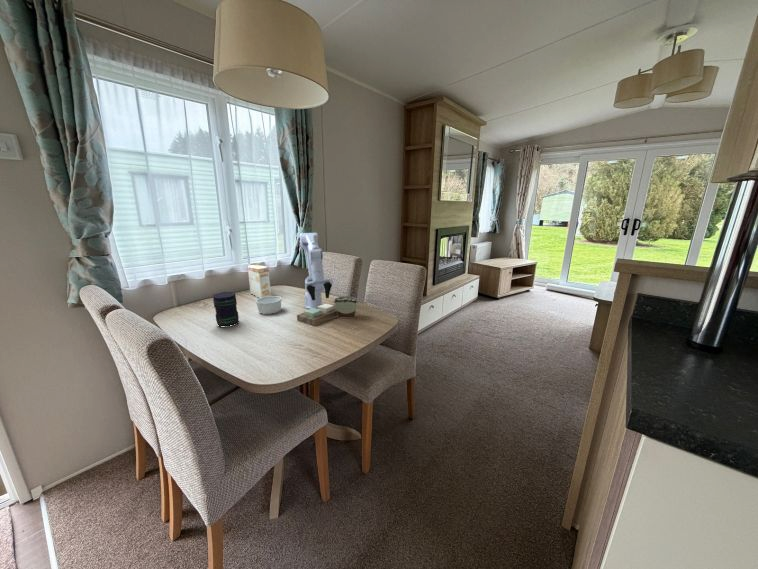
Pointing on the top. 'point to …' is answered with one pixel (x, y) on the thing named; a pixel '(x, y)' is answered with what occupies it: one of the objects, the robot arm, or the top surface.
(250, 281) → the coffeecake box
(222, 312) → the storage jar
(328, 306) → the cream key
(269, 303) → the ramekin
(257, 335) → the top surface
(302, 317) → the key console
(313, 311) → the sage key
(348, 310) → the food container
